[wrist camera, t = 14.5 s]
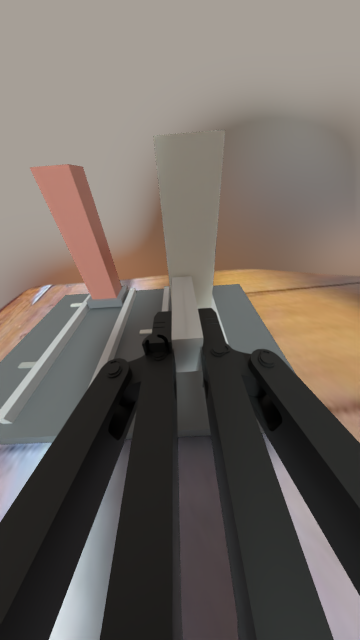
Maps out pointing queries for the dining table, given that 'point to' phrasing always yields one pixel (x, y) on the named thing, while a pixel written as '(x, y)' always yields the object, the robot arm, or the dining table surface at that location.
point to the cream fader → (190, 205)
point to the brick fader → (81, 231)
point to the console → (108, 359)
